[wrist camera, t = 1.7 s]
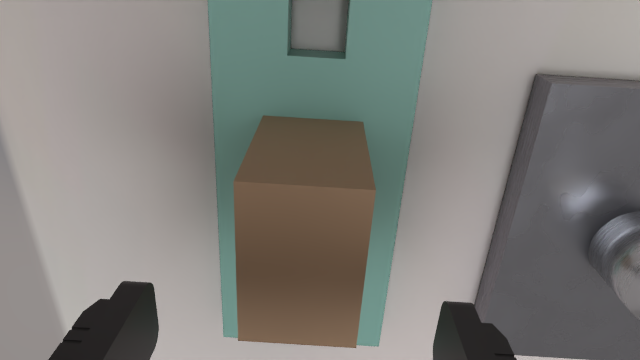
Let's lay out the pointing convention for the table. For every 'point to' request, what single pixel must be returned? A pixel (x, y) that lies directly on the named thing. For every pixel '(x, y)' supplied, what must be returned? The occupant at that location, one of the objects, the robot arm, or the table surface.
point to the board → (318, 93)
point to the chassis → (570, 225)
